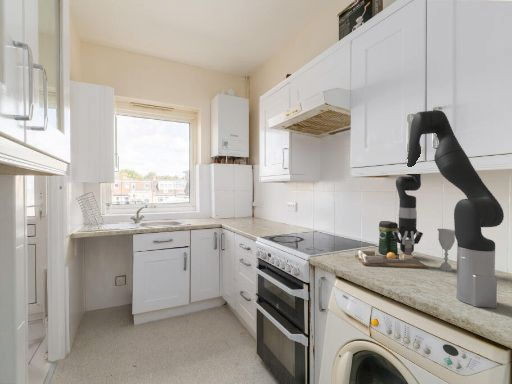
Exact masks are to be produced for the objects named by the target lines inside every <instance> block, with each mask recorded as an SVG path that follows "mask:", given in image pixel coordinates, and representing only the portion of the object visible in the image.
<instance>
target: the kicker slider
mask: <svg viewBox="0 0 512 384" xmlns="http://www.w3.org/2000/svg"><path fill="white" fill-rule="evenodd" d="M404 245H405V252H402V251H401V252H398V256H399V259H403V260H413V259H414V258H413V257H414V255H413V252H412V240H409V239H408V238H406V240H405V244H404Z"/></svg>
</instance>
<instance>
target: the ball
mask: <svg viewBox="0 0 512 384" xmlns="http://www.w3.org/2000/svg"><path fill="white" fill-rule="evenodd" d="M396 256H397V255H395V254H394V253H392V252H389V253H388V254H387V258H388V259H395V258H396Z"/></svg>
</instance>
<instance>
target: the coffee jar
mask: <svg viewBox="0 0 512 384" xmlns="http://www.w3.org/2000/svg"><path fill="white" fill-rule="evenodd" d="M398 228H399V223H397V222H395V221H390V220H380V222H379V224H378V230H379V236H378V237H379V239H378V251H377V252H378V253H379V254H380V255H387V254H388V253H389V252H392V253H394V254H395V255H396V256H399V251H398V249H399V248H398V242H396V240H395V238H394V235H393V233H392V231H396V230H398Z"/></svg>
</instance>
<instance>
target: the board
mask: <svg viewBox="0 0 512 384" xmlns="http://www.w3.org/2000/svg"><path fill="white" fill-rule="evenodd" d="M355 258H356V259H357V260H358V261H359V262H360V263H361V264H362V265H363V267H380V268H381V267H382V268H384V267H385V268H402V269H403V268H405V269H424V270H429V266H428V265H427V264H424V263H422V262H421V261H420V260H418V259H415V258H413V260H403V259H399V255H396V258H395V259H388V258H387V255H384V254H376V251H375V250H361V249H360V250H358V253H357V254H355Z"/></svg>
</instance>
